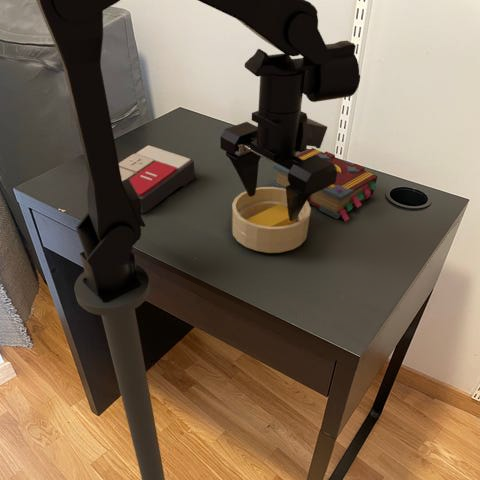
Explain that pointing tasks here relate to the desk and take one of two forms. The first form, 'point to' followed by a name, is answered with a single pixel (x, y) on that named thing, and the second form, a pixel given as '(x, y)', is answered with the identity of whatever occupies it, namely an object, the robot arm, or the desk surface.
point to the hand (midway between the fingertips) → (271, 207)
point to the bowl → (264, 235)
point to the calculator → (156, 174)
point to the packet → (272, 217)
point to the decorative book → (335, 185)
